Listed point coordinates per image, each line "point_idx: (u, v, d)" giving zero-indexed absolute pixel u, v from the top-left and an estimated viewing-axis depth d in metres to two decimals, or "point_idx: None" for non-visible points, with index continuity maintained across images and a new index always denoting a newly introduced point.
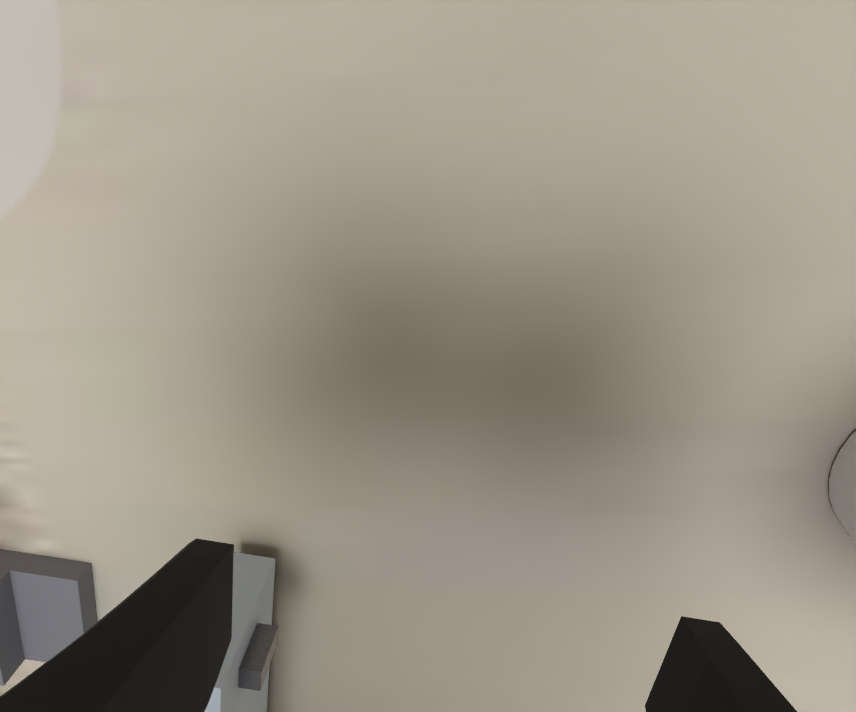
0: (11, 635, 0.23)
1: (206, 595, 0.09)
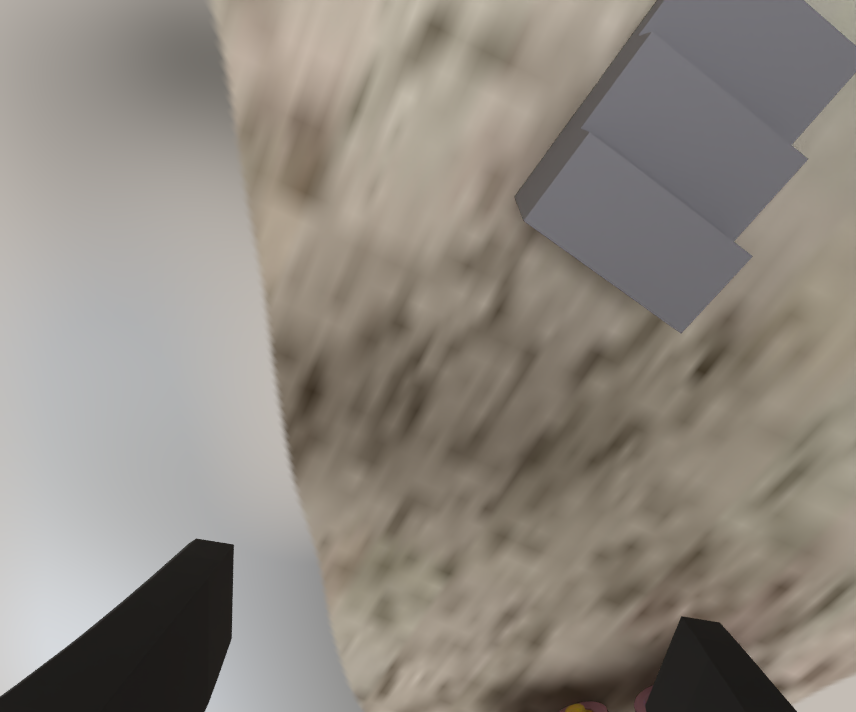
0: None
1: (206, 595, 0.09)
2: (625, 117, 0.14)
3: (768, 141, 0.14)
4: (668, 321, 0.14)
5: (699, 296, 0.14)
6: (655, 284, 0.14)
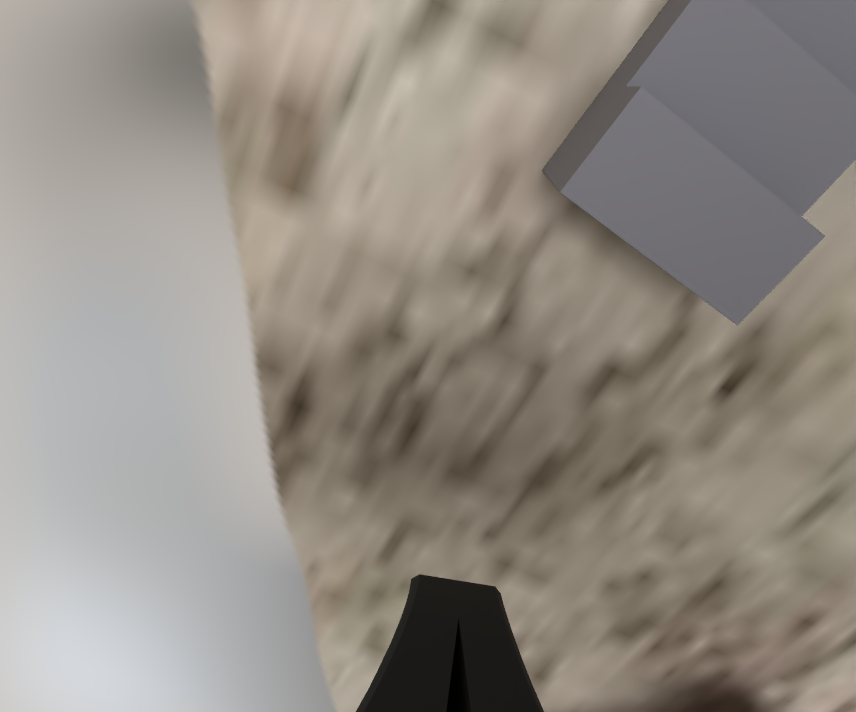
0: None
1: None
2: (678, 73, 0.12)
3: (843, 103, 0.12)
4: (723, 311, 0.12)
5: (760, 282, 0.12)
6: (710, 268, 0.12)
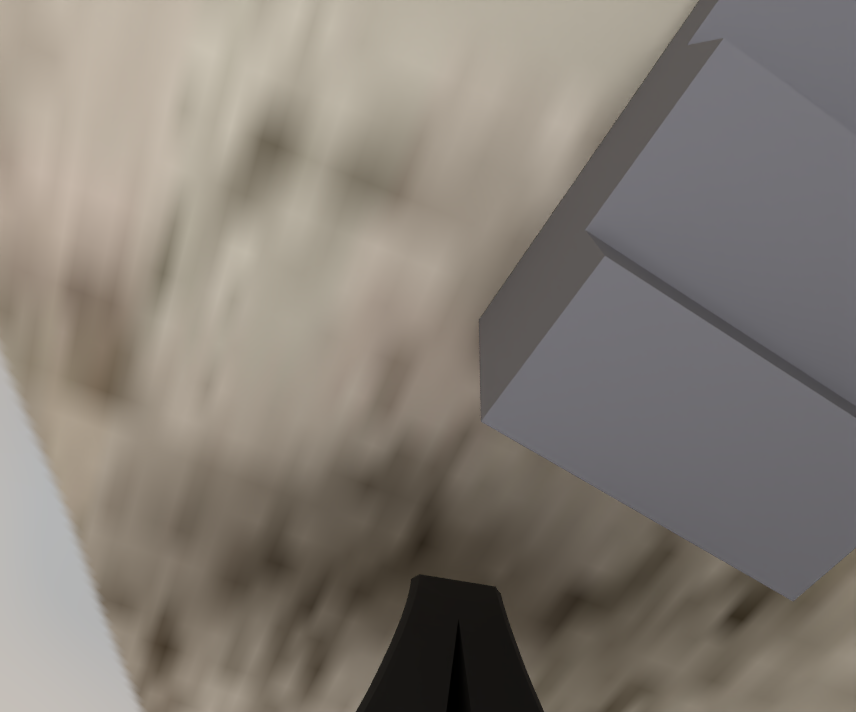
0: None
1: None
2: (672, 206, 0.07)
3: None
4: (768, 582, 0.08)
5: (830, 542, 0.07)
6: (743, 524, 0.07)
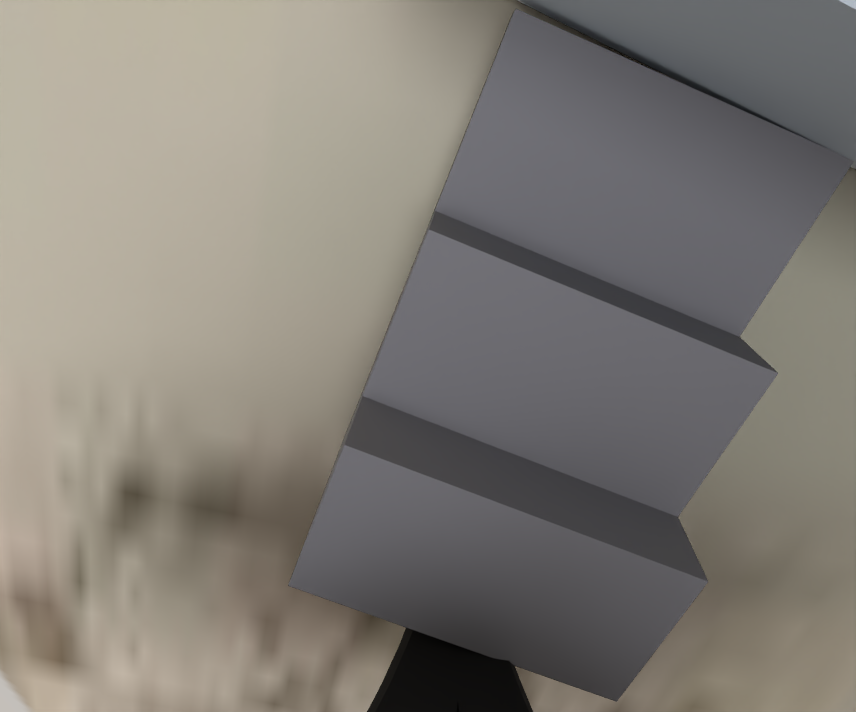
0: (632, 299, 0.08)
1: None
2: (431, 367, 0.08)
3: (694, 359, 0.07)
4: (588, 687, 0.08)
5: (630, 649, 0.08)
6: (546, 642, 0.08)
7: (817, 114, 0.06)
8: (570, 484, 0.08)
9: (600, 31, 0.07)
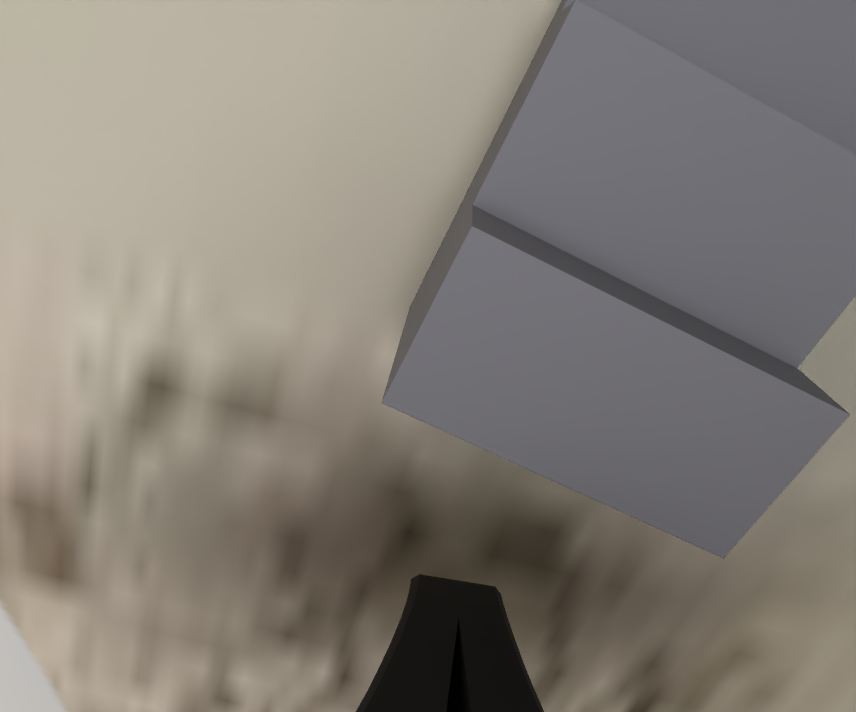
0: None
1: None
2: (554, 172, 0.07)
3: (846, 176, 0.07)
4: (695, 540, 0.07)
5: (750, 494, 0.07)
6: (659, 484, 0.07)
7: None
8: (691, 317, 0.07)
9: None
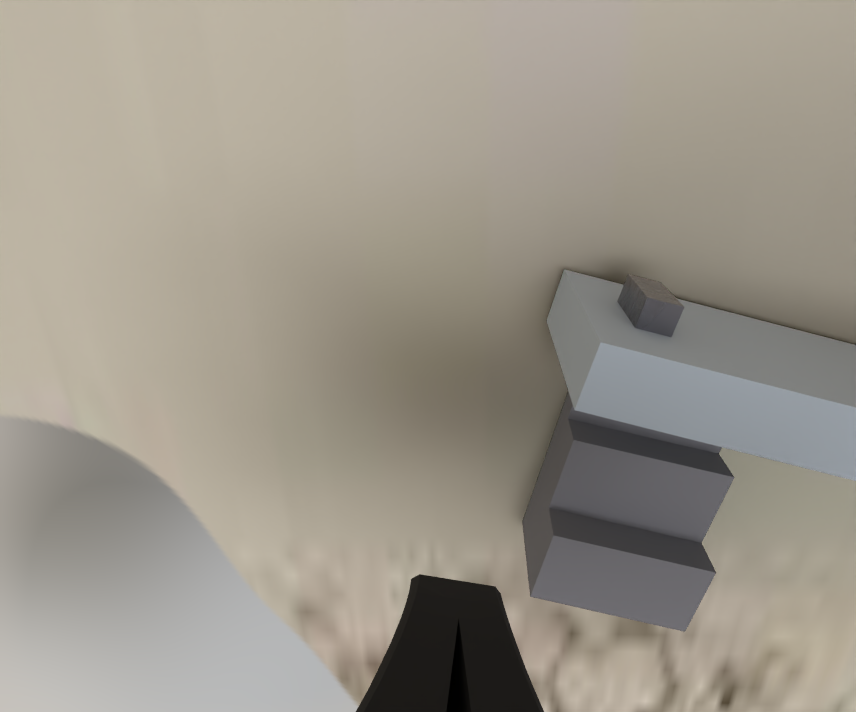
0: (664, 448, 0.18)
1: None
2: (579, 492, 0.18)
3: (696, 475, 0.17)
4: (671, 626, 0.18)
5: (687, 606, 0.17)
6: (648, 608, 0.17)
7: None
8: (648, 535, 0.18)
9: None
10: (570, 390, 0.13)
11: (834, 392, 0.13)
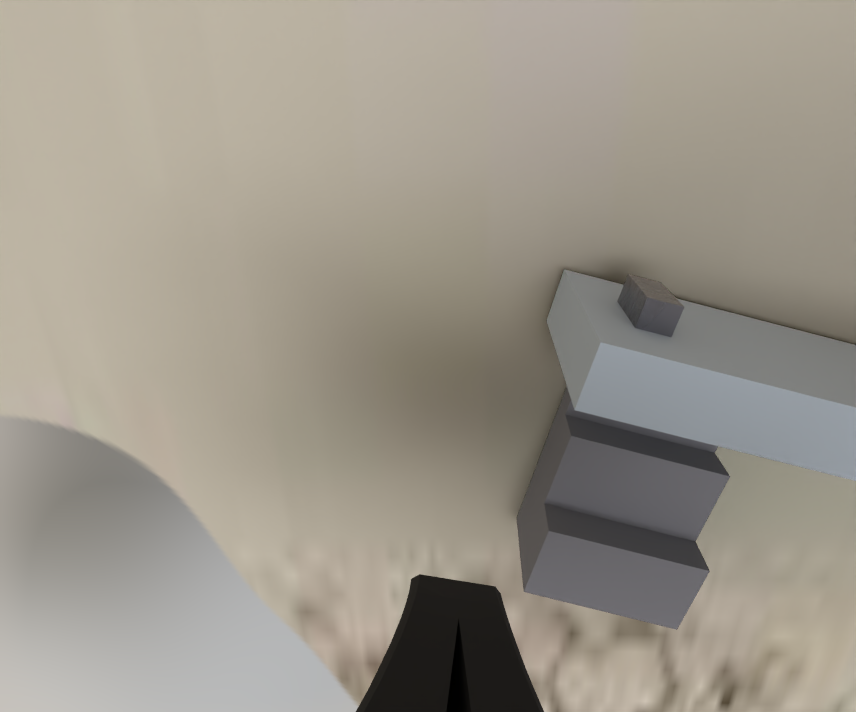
0: (661, 446, 0.18)
1: None
2: (575, 488, 0.18)
3: (691, 474, 0.17)
4: (663, 624, 0.18)
5: (680, 604, 0.17)
6: (641, 605, 0.17)
7: None
8: (643, 533, 0.18)
9: None
10: (570, 390, 0.13)
11: (834, 392, 0.13)
